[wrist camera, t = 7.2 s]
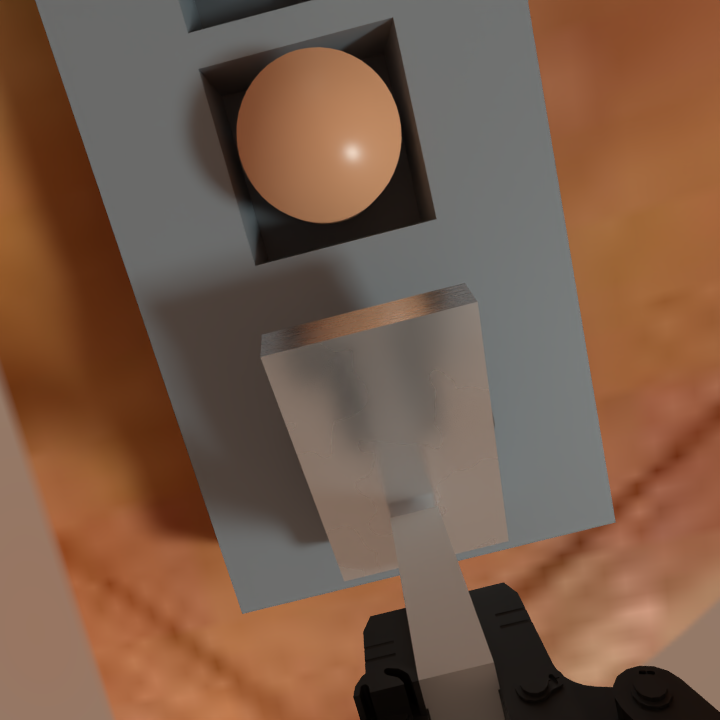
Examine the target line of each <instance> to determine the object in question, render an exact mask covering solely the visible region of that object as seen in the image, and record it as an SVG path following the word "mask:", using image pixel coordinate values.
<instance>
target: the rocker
mask: <svg viewBox="0 0 720 720" xmlns="http://www.w3.org/2000/svg"><path fill="white" fill-rule="evenodd" d="M260 357H261V360H262V363H263V365H264V368H265V371H266V373H267V376H268V379H269V381H270V384H271V387H272V389H273V392H274V395H275V398H276V400H277V403H278V406H279V408H280V411H281V414H282V416H283V419H284V422H285V424H286V427H287V430H288V432H289V435H290V438H291V440H292V443H293V446H294V448H295V451H296V454H297V458H298V462H299V466H300V469H301V472H302V474H303V475H305V478H306V480H307V483H308V486H309V488H310V491H311V494H312V496H313V499H314V502H315V504H316V507H317V510H318V512H319V515H320V518H321V520H322V523H323V526H324V528H325V531H326V534H327V536H328V539H329V542H330V544H331V547H332V550H333V552H334V555H335V558H336V560H337V563H338V566H339V568H340V571H341V574H342V576H343V579H344V581H348V580H352V579H356V578H360V577H364V576H369V575H373V574H377V573H381V572H385V571H389V570H393V569H397V568H399V566H398V560H397V555H396V549H395V543H394V538H393V532H392V526H391V521H390V518H392V517H396V516H400V515H404V514H408V513H412V512H416V511H420V510H424V509H429V508H433V507H437V506H438V508H439V511H440V514H441V516H442V519H443V522H444V525H445V528H446V530H447V533H448V536H449V539H450V542H451V544H452V547H453V550H454V553H455V554H458V553H462V552H466V551H470V550H474V549H479V548H483V547H487V546H491V545H495V544H499V543H503V542H507V541H509V540H508V532H507V524H506V517H505V509H504V501H503V493H502V486H501V478H500V470H499V462H498V455H497V447H496V439H495V431H494V428H495V422H494V416H493V412H492V408H491V400H490V393H489V385H488V377H487V370H486V362H485V354H484V346H483V339H482V331H481V323H480V315H479V308H478V301H477V300H476V298H475V297H474V296H473V294H472V293H471V291H470V290H469V288H468V287H467V285H466V284H465V283H462V284H458V285H454V286H450V287H446V288H443V289H439V290H435V291H431V292H427V293H423V294H419V295H415V296H411V297H407V298H403V299H399V300H396V301H392V302H388V303H384V304H380V305H376V306H372V307H368V308H364V309H360V310H356V311H352V312H349V313H345V314H341V315H337V316H333V317H329V318H325V319H321V320H317V321H313V322H309V323H305V324H302V325H298V326H294V327H290V328H286V329H282V330H278V331H274V332H270V333H266V334H262V342H261V355H260Z"/></svg>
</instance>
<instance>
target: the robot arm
mask: <svg viewBox="0 0 720 720" xmlns="http://www.w3.org/2000/svg"><path fill="white" fill-rule="evenodd" d="M390 521H391V526H392V532H393V538H394V543H395V549H396V555H397V560H398V566H399V572H400V578H401V583H402V589H403V595H404V600H405V606H406V608H403V609H399V610H395V611H391V612H387V613H383V614H379V615H374V616H370V618H369V621H368V623H367V625H366V627H365V629H364V632H363V635H364V649H365V651H364V652H365V670H366V674H364V675H363V676H362V677H361V679H360V680H359V682H358V683H357V685H356V686H355V691H354V696H353V697H354V700H355V704H356V707H357V710H358V714H359V717H360V720H720V712H719V711H718V710H716V709H715V708H714V707H713V706H712V705H711V704H710V703H708V702H707V701H706V700H705V699H704V698H703V697H701V696H700V695H699V694H698V693H697V692H696V691H694V690H693V689H692V688H691V687H690V686H688V685H687V684H686V683H685V682H684V681H683V680H682V679H680V678H679V677H677V676H675V675H674V674H672V673H670V672H669V671H667V670H664V669H660V668H657V667H654V666H637V667H633V668H630V669H626V670H625V671H624V672H622V673H621V674H620V675H618V676H617V678H616V680H615V683H614V685H613V687H594V686H586V685H582V684H579V683H576V682H573V681H571V680H569V679H567V678H566V677H564V676H563V675H562V673H561V672H559V671H558V670H557V669H556V668H555V666H554V665H553V663H552V661H551V659H550V657H549V655H548V653H547V651H546V649H545V647H544V645H543V643H542V641H541V639H540V637H539V635H538V633H537V631H536V629H535V627H534V625H533V623H532V622H531V619H530V617H529V615H528V613H527V611H526V610H525V607H524V605H523V603H522V601H521V599H520V597H519V595H518V593H517V592H516V591H514V590H513V589H512V588H510V587H509V586H508V585H506V584H505V583H500V584H496V585H491V586H487V587H483V588H479V589H475V590H471V591H468V589H467V586H466V583H465V580H464V578H463V575H462V572H461V569H460V567H459V564H458V561H457V558H456V555H455V553H454V550H453V547H452V544H451V542H450V539H449V536H448V533H447V530H446V528H445V525H444V522H443V519H442V516H441V514H440V511H439V508H438V506H437V507H433V508H429V509H424V510H420V511H416V512H412V513H408V514H404V515H400V516H396V517H392V518H390Z"/></svg>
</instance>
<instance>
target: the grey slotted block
mask: <svg viewBox="0 0 720 720" xmlns="http://www.w3.org/2000/svg"><path fill="white" fill-rule="evenodd" d="M35 1H36V4H37V7H38V10H39V13H40V16H41V19H42V22H43V25H44V28H45V31H46V34H47V37H48V40H49V43H50V46H51V49H52V52H53V55H54V58H55V61H56V64H57V66H58V69H59V72H60V75H61V78H62V81H63V84H64V87H65V90H66V93H67V96H68V99H69V102H70V105H71V108H72V111H73V114H74V117H75V120H76V123H77V126H78V129H79V132H80V135H81V138H82V140H83V143H84V146H85V149H86V152H87V155H88V158H89V161H90V164H91V167H92V170H93V173H94V176H95V179H96V182H97V185H98V188H99V191H100V194H101V197H102V200H103V203H104V206H105V209H106V211H107V214H108V217H109V220H110V223H111V226H112V229H113V232H114V235H115V238H116V241H117V244H118V247H119V250H120V253H121V256H122V259H123V262H124V265H125V268H126V271H127V274H128V277H129V280H130V282H131V285H132V288H133V291H134V294H135V297H136V300H137V303H138V306H139V309H140V312H141V315H142V318H143V321H144V324H145V327H146V330H147V333H148V336H149V339H150V342H151V345H152V348H153V351H154V354H155V356H156V359H157V362H158V365H159V368H160V371H161V374H162V377H163V380H164V383H165V386H166V389H167V392H168V395H169V398H170V401H171V404H172V407H173V410H174V413H175V416H176V419H177V422H178V425H179V427H180V430H181V433H182V436H183V439H184V442H185V445H186V448H187V451H188V454H189V457H190V460H191V463H192V466H193V469H194V472H195V475H196V478H197V481H198V484H199V487H200V490H201V493H202V496H203V498H204V501H205V504H206V507H207V510H208V513H209V516H210V519H211V522H212V525H213V528H214V531H215V534H216V537H217V540H218V543H219V546H220V549H221V552H222V555H223V558H224V561H225V564H226V567H227V570H228V572H229V575H230V578H231V581H232V584H233V587H234V590H235V593H236V596H237V599H238V602H239V605H240V608H241V611H242V614H244V613H248V612H252V611H256V610H260V609H264V608H268V607H272V606H276V605H280V604H284V603H288V602H293V601H297V600H301V599H305V598H309V597H313V596H317V595H321V594H325V593H329V592H333V591H337V590H341V589H346V588H350V587H354V586H358V585H362V584H366V583H370V582H374V581H378V580H382V579H386V578H390V577H394V576H399V575H400V572H399V568H397V569H393V570H389V571H385V572H381V573H377V574H373V575H369V576H364V577H360V578H356V579H352V580H348V581H344V579H343V576H342V574H341V571H340V568H339V566H338V563H337V560H336V558H335V555H334V552H333V550H332V547H331V544H330V542H329V539H328V536H327V534H326V531H325V528H324V526H323V523H322V520H321V518H320V515H319V512H318V510H317V507H316V504H315V502H314V499H313V496H312V494H311V491H310V488H309V486H308V483H307V480H306V478H305V475H303V474H302V472H301V469H300V466H299V462H298V458H297V454H296V451H295V448H294V446H293V443H292V440H291V438H290V435H289V432H288V430H287V427H286V424H285V422H284V419H283V416H282V414H281V411H280V408H279V406H278V403H277V400H276V398H275V395H274V392H273V389H272V387H271V384H270V381H269V379H268V376H267V373H266V371H265V368H264V365H263V363H262V360H261V357H260V355H261V342H262V334H266V333H270V332H274V331H278V330H282V329H286V328H290V327H294V326H298V325H302V324H305V323H309V322H313V321H317V320H321V319H325V318H329V317H333V316H337V315H341V314H345V313H349V312H352V311H356V310H360V309H364V308H368V307H372V306H376V305H380V304H384V303H388V302H392V301H396V300H399V299H403V298H407V297H411V296H415V295H419V294H423V293H427V292H431V291H435V290H439V289H443V288H446V287H450V286H454V285H458V284H462V283H465V284H466V285H467V287H468V288H469V290H470V291H471V293H472V294H473V296H474V297H475V298H476V300H477V301H478V308H479V315H480V323H481V331H482V339H483V346H484V354H485V362H486V370H487V377H488V385H489V393H490V400H491V408H492V412H493V416H494V422H495V428H494V431H495V439H496V447H497V455H498V462H499V470H500V478H501V486H502V493H503V501H504V509H505V517H506V524H507V532H508V540H509V541H507V542H503V543H499V544H495V545H491V546H487V547H483V548H479V549H474V550H470V551H466V552H462V553H458V554H455V555H456V558H457V561H460V560H464V559H468V558H472V557H476V556H480V555H484V554H488V553H492V552H496V551H500V550H505V549H509V548H513V547H517V546H521V545H525V544H529V543H533V542H537V541H541V540H545V539H549V538H553V537H557V536H562V535H566V534H570V533H574V532H578V531H582V530H586V529H590V528H594V527H598V526H602V525H606V524H610V523H615V516H614V510H613V504H612V498H611V492H610V486H609V481H608V475H607V469H606V463H605V457H604V451H603V445H602V439H601V433H600V427H599V421H598V415H597V409H596V403H595V397H594V391H593V386H592V380H591V374H590V368H589V362H588V356H587V350H586V344H585V338H584V332H583V326H582V320H581V314H580V308H579V302H578V296H577V291H576V285H575V279H574V273H573V267H572V261H571V255H570V249H569V243H568V237H567V231H566V225H565V219H564V213H563V207H562V202H561V196H560V190H559V184H558V178H557V172H556V166H555V160H554V154H553V148H552V142H551V136H550V130H549V124H548V118H547V112H546V107H545V101H544V95H543V89H542V83H541V77H540V71H539V65H538V59H537V53H536V47H535V41H534V35H533V29H532V23H531V17H530V12H529V6H528V0H35ZM313 47H322V48H331V49H335V50H339V51H343V52H345V53H348V54H350V55H352V56H354V57H356V58H358V59H360V60H361V61H363V62H364V63H365V64H367V65H368V66H369V67H371V68H372V69H373V70H374V71H375V72H376V73H377V74H378V75H379V77H380V78H381V79H382V80H383V82H384V83H385V84H386V86H387V88H388V89H389V91H390V93H391V94H392V97H393V99H394V101H395V104H396V106H397V110H398V113H399V117H400V124H401V150H400V155H399V159H398V163H397V166H396V168H395V171H394V173H393V175H392V177H391V179H390V181H389V183H388V184H387V186H386V187H385V189H384V190H383V191H382V193H381V194H380V195H379V196H378V197H377V198H376V199H375V200H374V201H373V202H372V203H371V204H370V205H369V206H368V207H367V208H366V209H365V210H364V211H363V212H361V213H360V214H358V215H357V216H355V217H353V218H351V219H349V220H347V221H344V222H341V223H336V224H327V225H322V224H313V223H309V222H306V221H303V220H300V219H297V218H295V217H292V216H290V215H288V214H286V213H284V212H282V211H280V210H278V209H277V208H275V207H274V206H273V205H271V204H270V203H269V202H268V201H267V200H265V199H264V198H263V197H262V196H261V195H260V193H259V192H258V191H257V190H256V189H255V188H254V186H253V184H252V183H251V181H250V180H249V178H248V176H247V174H246V172H245V170H244V168H243V165H242V162H241V159H240V156H239V151H238V146H237V120H238V114H239V110H240V106H241V103H242V100H243V98H244V96H245V93H246V91H247V90H248V88H249V86H250V85H251V83H252V81H253V80H254V79H255V78H256V76H257V75H258V74H259V73H260V72H261V71H262V70H263V69H264V68H265V67H266V66H267V65H268V64H270V63H271V62H273V61H274V60H275V59H277V58H279V57H281V56H283V55H285V54H287V53H289V52H292V51H295V50H299V49H304V48H313Z"/></svg>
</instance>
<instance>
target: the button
mask: <svg viewBox="0 0 720 720" xmlns="http://www.w3.org/2000/svg"><path fill="white" fill-rule="evenodd" d="M237 146H238V151H239V156H240V159H241V162H242V165H243V168H244V170H245V172H246V174H247V176H248V178H249V180H250V181H251V183H252V184H253V186H254V188H255V189H256V190H257V191H258V192H259V193H260V195H261V196H262V197H263V198H264V199H265V200H267V201H268V202H269V203H270V204H271V205H273V206H274V207H275V208H277V209H278V210H280V211H282V212H284V213H286V214H288V215H290V216H292V217H295V218H297V219H300V220H303V221H306V222H309V223H313V224H322V225H327V224H336V223H341V222H344V221H347V220H349V219H351V218H353V217H355V216H357V215H358V214H360V213H361V212H363V211H364V210H365V209H366V208H367V207H368V206H369V205H370V204H371V203H372V202H373V201H374V200H375V199H376V198H377V197H378V196H379V195H380V194H381V193H382V191H383V190H384V189H385V187H386V186H387V184H388V183H389V181H390V179H391V177H392V175H393V173H394V171H395V168H396V166H397V163H398V159H399V155H400V150H401V124H400V117H399V113H398V110H397V106H396V104H395V101H394V99H393V97H392V94H391V93H390V91H389V89H388V88H387V86H386V84H385V83H384V82H383V80H382V79H381V78H380V77H379V75H378V74H377V73H376V72H375V71H374V70H373V69H372V68H371V67H369V66H368V65H367V64H365V63H364V62H363V61H361V60H360V59H358V58H356V57H354V56H352V55H350V54H348V53H345V52H343V51H339V50H335V49H331V48H322V47H313V48H304V49H299V50H295V51H292V52H289V53H287V54H285V55H283V56H281V57H279V58H277V59H275V60H274V61H273V62H271V63H270V64H268V65H267V66H266V67H265V68H264V69H263V70H262V71H261V72H260V73H259V74H258V75H257V76H256V78H255V79H254V80H253V81H252V83H251V85H250V86H249V88H248V90H247V91H246V93H245V96H244V98H243V100H242V103H241V106H240V110H239V114H238V120H237Z"/></svg>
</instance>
